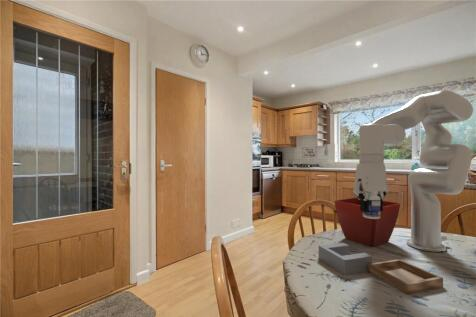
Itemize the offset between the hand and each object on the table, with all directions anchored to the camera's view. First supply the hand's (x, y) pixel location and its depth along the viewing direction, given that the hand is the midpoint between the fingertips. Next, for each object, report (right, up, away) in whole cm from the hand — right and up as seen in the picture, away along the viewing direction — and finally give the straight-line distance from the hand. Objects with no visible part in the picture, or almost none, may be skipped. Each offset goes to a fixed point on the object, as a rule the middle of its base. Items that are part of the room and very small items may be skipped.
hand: (371, 210), depth 85 cm
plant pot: (+9, -18, +21) cm, 29 cm away
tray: (+2, -17, -14) cm, 22 cm away
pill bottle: (0, -3, 0) cm, 3 cm away
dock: (-11, -17, -3) cm, 21 cm away
